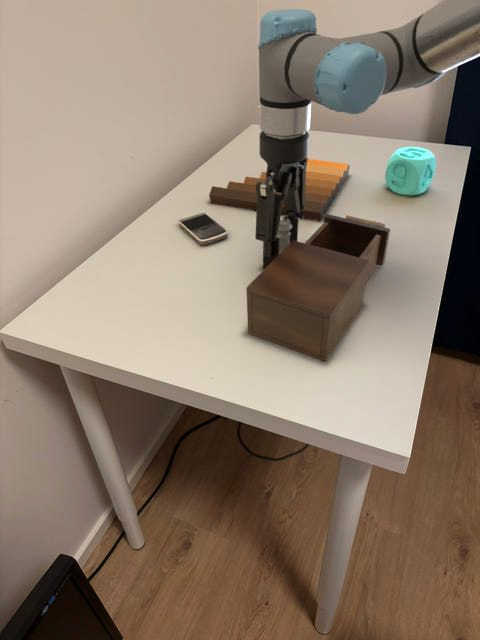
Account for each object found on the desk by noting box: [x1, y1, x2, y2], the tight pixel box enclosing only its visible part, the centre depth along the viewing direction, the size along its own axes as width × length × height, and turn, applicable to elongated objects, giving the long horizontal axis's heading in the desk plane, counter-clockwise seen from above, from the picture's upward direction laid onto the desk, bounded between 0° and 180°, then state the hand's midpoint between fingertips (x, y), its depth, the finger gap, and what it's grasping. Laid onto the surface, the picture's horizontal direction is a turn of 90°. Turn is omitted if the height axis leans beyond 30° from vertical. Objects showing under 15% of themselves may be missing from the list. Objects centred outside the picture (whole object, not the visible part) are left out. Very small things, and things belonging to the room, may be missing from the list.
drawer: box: [304, 213, 391, 282], centre depth 82 cm, size 18×11×7 cm, turn 149°
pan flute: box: [208, 158, 351, 222], centre depth 110 cm, size 25×3×25 cm
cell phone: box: [177, 212, 229, 246], centre depth 97 cm, size 6×11×1 cm, turn 31°
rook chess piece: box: [277, 217, 292, 254], centre depth 86 cm, size 4×4×8 cm
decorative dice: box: [384, 146, 437, 196], centre depth 107 cm, size 8×8×8 cm
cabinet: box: [246, 240, 369, 363], centre depth 73 cm, size 15×13×9 cm
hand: (280, 259), depth 88 cm, fingers open, 7 cm apart
